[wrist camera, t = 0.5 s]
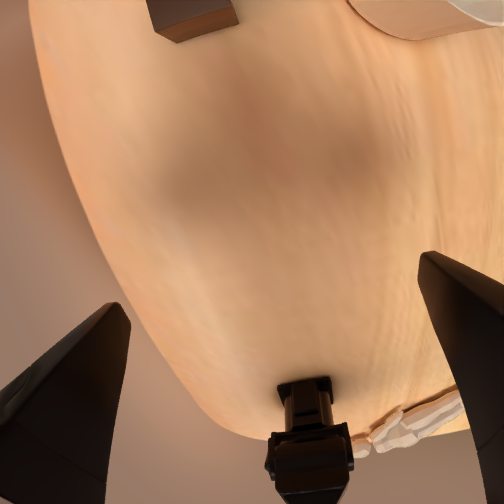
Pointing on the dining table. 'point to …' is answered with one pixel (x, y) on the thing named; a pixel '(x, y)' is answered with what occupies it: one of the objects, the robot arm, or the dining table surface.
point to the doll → (411, 425)
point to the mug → (430, 16)
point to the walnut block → (190, 17)
